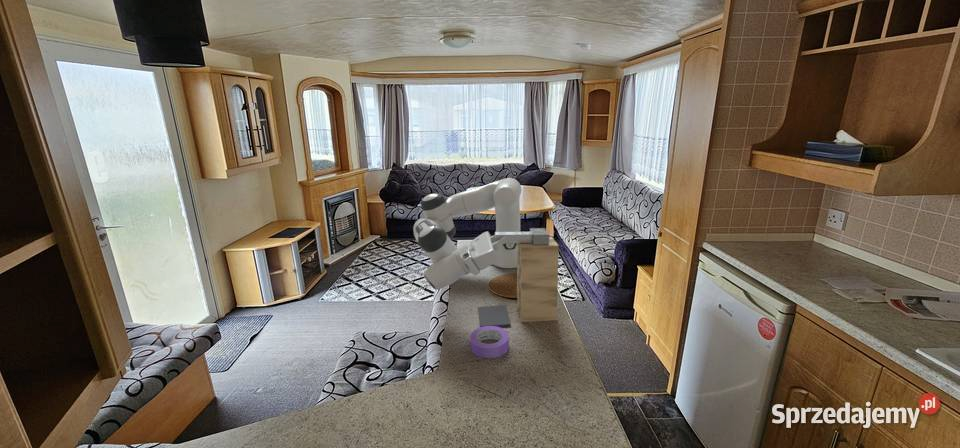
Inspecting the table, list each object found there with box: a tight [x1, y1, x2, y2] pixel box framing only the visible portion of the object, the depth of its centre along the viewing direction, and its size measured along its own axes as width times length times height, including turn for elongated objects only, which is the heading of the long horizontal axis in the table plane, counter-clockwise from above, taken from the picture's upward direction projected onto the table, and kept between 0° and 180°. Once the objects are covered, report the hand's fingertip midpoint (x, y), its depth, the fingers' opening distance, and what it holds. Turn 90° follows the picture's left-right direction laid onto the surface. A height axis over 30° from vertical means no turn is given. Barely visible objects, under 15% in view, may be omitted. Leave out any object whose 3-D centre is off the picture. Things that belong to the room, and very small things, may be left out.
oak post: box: [516, 236, 560, 323], centre depth 133 cm, size 9×12×27 cm
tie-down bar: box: [494, 227, 550, 245], centre depth 128 cm, size 7×17×4 cm, turn 94°
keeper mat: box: [477, 304, 511, 328], centre depth 136 cm, size 13×10×1 cm
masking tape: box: [469, 326, 510, 359], centre depth 119 cm, size 12×12×4 cm
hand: (505, 236), depth 127 cm, fingers closed on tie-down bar, 3 cm apart
